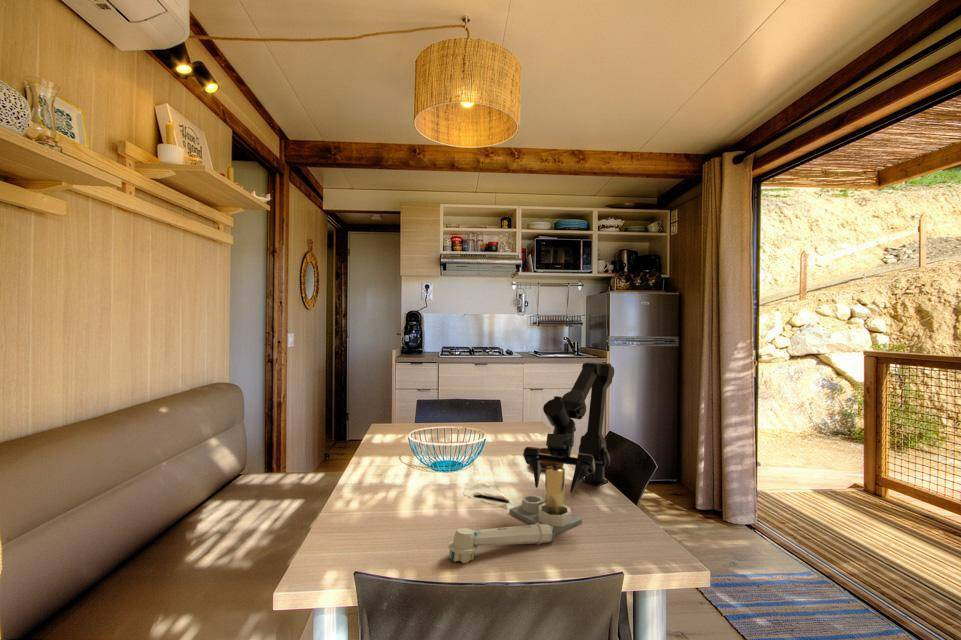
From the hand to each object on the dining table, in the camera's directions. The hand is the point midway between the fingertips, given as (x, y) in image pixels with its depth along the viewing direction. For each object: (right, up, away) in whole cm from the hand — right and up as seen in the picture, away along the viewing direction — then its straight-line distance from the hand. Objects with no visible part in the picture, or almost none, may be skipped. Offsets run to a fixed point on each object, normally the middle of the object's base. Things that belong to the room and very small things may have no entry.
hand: (553, 489), depth 110 cm
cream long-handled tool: (-14, -9, -12) cm, 21 cm away
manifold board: (-2, -9, +4) cm, 10 cm away
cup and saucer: (+5, -10, +45) cm, 46 cm away
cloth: (-18, -10, +21) cm, 29 cm away
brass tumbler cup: (+1, -8, +1) cm, 8 cm away
